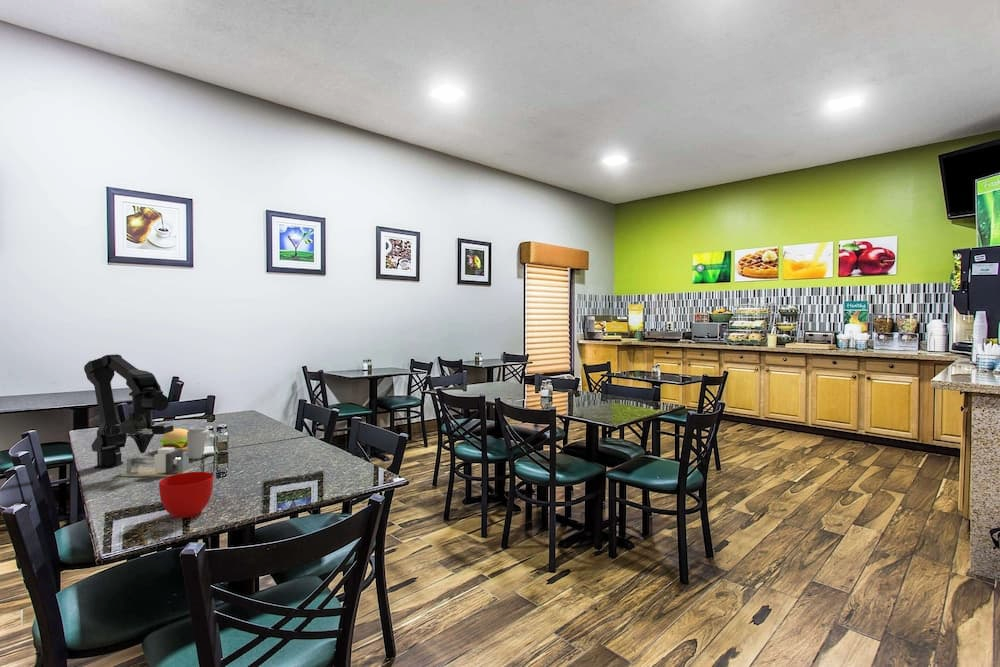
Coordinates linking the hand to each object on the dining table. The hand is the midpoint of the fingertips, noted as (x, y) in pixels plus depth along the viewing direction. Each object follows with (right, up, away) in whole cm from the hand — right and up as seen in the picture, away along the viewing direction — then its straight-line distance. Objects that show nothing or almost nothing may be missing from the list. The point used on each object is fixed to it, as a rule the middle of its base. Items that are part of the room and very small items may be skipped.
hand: (142, 452), depth 180 cm
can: (+8, -7, +20) cm, 23 cm away
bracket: (+8, -7, 0) cm, 11 cm away
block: (+11, -7, 0) cm, 13 cm away
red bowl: (+39, -8, -36) cm, 53 cm away
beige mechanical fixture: (+5, -7, 0) cm, 9 cm away
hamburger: (-8, -7, +32) cm, 34 cm away
